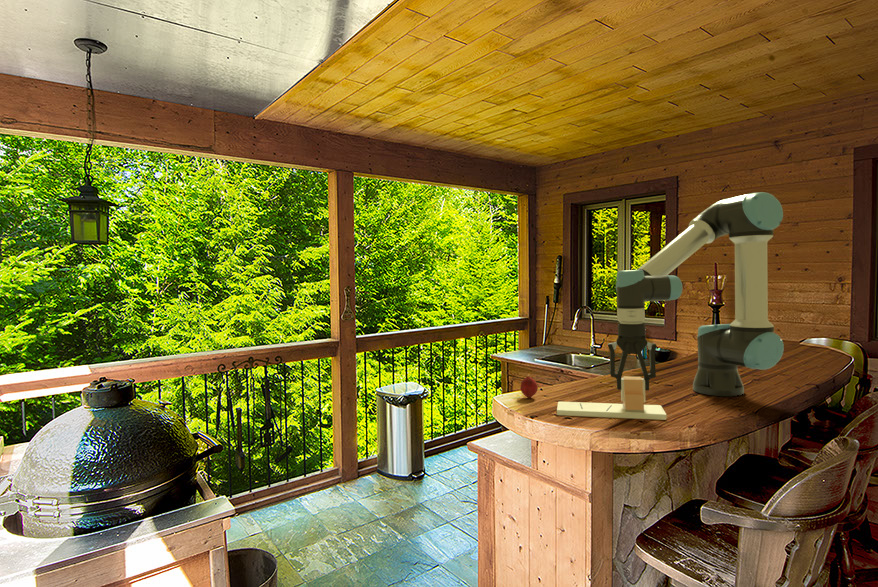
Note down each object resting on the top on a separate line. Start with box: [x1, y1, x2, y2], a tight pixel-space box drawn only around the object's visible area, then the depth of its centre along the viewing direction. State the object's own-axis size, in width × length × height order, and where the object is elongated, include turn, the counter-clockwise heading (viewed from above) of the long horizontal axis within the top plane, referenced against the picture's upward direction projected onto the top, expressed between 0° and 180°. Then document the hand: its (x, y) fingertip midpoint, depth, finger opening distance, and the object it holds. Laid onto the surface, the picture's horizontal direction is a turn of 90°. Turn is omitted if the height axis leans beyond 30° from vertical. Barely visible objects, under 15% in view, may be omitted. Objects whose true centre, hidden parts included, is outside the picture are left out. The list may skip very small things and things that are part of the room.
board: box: [556, 401, 667, 421], centre depth 146 cm, size 30×10×2 cm, turn 74°
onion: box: [520, 374, 538, 399], centre depth 166 cm, size 6×6×8 cm
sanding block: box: [622, 375, 645, 412], centre depth 144 cm, size 5×8×9 cm, turn 164°
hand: (633, 400), depth 144 cm, fingers closed on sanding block, 5 cm apart
